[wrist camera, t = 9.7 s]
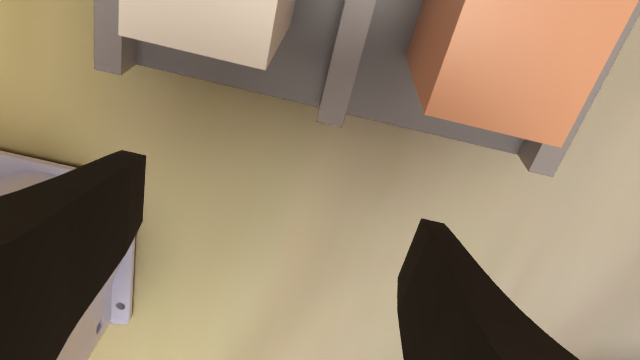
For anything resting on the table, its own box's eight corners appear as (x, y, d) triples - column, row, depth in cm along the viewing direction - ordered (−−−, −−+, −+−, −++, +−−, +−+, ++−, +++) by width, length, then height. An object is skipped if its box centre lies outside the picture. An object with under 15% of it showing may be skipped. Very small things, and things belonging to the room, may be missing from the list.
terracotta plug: (505, 81, 19) (561, 147, 14) (405, 56, 19) (424, 114, 14) (579, -92, 16) (686, -90, 11) (462, -123, 16) (514, -137, 11)
